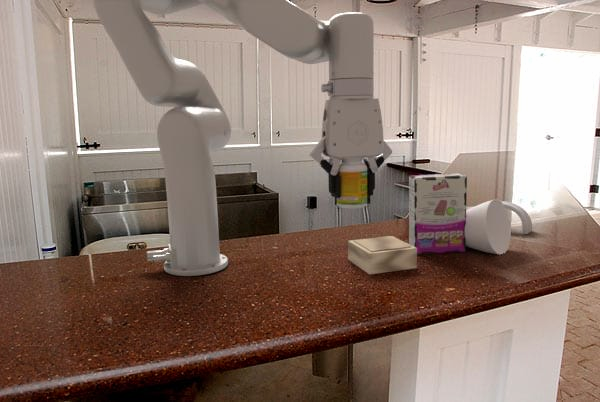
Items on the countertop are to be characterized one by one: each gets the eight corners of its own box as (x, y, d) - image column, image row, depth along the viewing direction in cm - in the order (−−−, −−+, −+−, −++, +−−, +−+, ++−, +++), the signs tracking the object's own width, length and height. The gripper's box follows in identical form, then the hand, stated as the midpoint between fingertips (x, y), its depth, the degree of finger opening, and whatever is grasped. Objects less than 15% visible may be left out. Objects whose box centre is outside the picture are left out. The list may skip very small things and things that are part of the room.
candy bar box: (456, 246, 107) (459, 172, 104) (466, 252, 102) (468, 175, 99) (407, 248, 106) (408, 174, 103) (414, 254, 101) (415, 177, 99)
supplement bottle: (365, 209, 83) (365, 152, 81) (334, 208, 84) (333, 152, 82) (368, 203, 88) (368, 149, 86) (339, 202, 89) (338, 150, 87)
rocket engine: (416, 198, 113) (490, 188, 100) (440, 223, 119) (513, 217, 106) (404, 241, 108) (481, 237, 95) (431, 265, 114) (506, 264, 101)
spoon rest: (428, 226, 128) (428, 199, 126) (446, 218, 137) (447, 193, 135) (523, 239, 113) (525, 208, 111) (536, 229, 122) (538, 201, 120)
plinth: (369, 274, 90) (369, 252, 89) (348, 259, 99) (347, 239, 99) (416, 268, 93) (417, 247, 92) (391, 254, 102) (391, 234, 102)
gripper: (309, 90, 76) (312, 202, 80) (407, 89, 81) (405, 195, 84) (296, 92, 84) (299, 195, 87) (387, 91, 88) (386, 189, 91)
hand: (351, 194), depth 86 cm, fingers closed on supplement bottle, 5 cm apart
